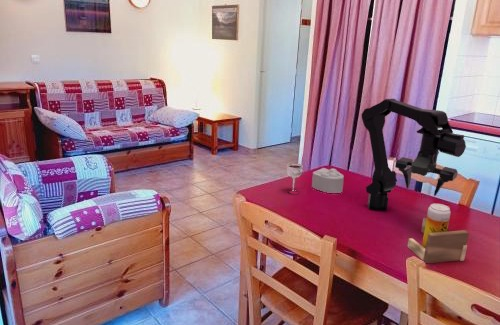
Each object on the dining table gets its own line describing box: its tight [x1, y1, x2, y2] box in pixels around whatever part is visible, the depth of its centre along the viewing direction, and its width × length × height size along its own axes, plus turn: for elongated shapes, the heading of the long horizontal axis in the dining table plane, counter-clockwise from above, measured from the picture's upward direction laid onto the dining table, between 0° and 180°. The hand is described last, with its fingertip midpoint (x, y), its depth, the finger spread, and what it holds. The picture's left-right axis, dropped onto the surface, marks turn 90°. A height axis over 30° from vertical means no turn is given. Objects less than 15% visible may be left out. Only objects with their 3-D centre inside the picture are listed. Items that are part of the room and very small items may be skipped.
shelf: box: [407, 217, 470, 264], centre depth 121 cm, size 19×12×9 cm, turn 12°
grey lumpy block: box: [311, 167, 345, 194], centre depth 167 cm, size 10×13×9 cm
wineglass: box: [286, 162, 304, 191], centre depth 162 cm, size 7×7×12 cm
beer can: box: [421, 203, 452, 248], centre depth 117 cm, size 6×6×15 cm
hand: (421, 191), depth 133 cm, fingers open, 9 cm apart
